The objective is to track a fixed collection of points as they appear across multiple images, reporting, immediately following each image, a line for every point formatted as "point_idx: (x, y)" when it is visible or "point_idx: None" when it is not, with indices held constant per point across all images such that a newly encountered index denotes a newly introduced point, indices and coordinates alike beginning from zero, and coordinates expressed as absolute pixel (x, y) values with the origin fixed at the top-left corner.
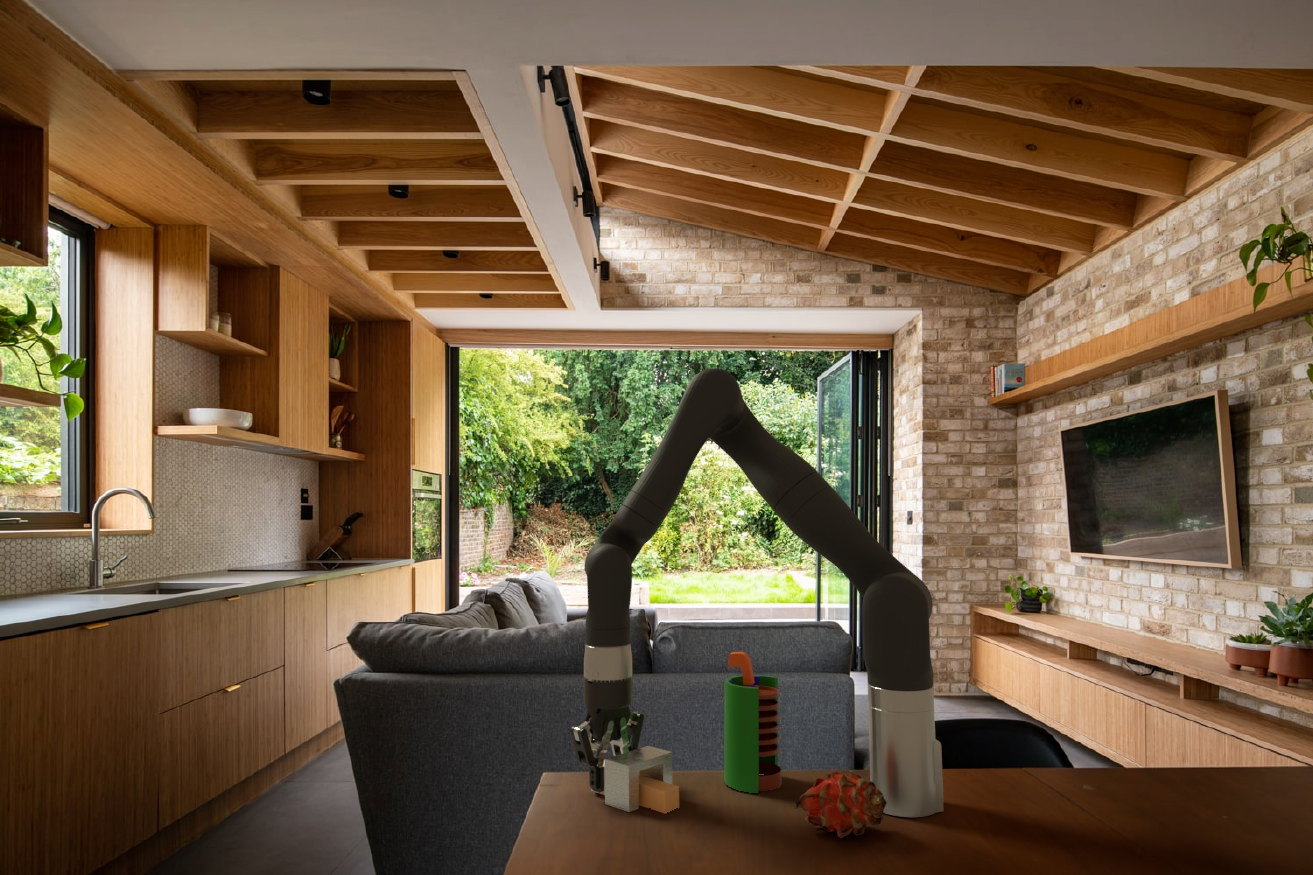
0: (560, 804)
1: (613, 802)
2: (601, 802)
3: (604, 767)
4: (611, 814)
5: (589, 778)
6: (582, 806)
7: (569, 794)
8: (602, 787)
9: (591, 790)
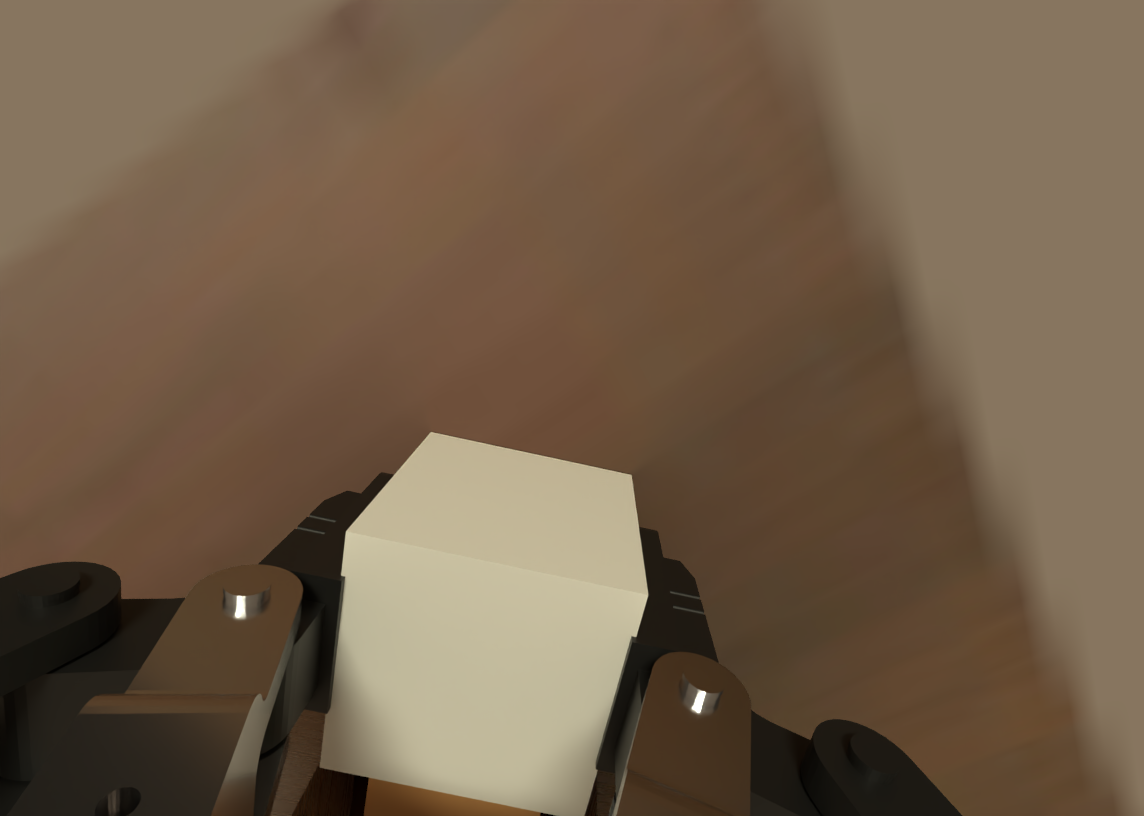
0: (75, 407)
1: None
2: None
3: (339, 704)
4: None
5: (302, 521)
6: (155, 556)
7: (267, 334)
8: None
9: (432, 433)
